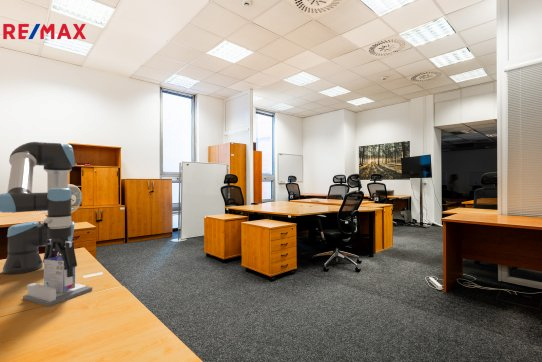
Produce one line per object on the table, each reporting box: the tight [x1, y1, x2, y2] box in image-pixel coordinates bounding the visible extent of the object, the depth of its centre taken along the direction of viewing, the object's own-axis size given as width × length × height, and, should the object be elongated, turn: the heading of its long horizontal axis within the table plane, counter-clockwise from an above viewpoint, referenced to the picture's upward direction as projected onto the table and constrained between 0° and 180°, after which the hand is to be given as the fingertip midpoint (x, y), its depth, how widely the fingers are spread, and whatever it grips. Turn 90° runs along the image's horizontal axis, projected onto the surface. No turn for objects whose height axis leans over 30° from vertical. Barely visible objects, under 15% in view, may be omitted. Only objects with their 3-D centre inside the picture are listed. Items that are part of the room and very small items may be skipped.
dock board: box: [22, 282, 93, 307], centre depth 110 cm, size 16×16×5 cm
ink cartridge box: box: [42, 252, 76, 292], centre depth 110 cm, size 10×6×14 cm, turn 78°
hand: (59, 282), depth 110 cm, fingers closed on ink cartridge box, 10 cm apart
